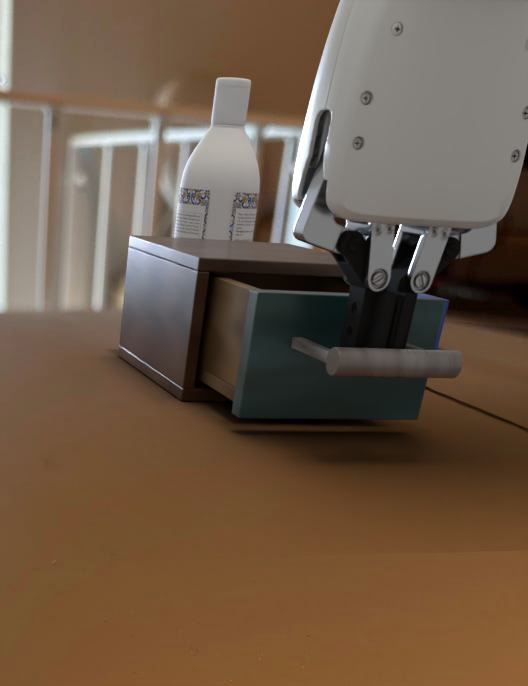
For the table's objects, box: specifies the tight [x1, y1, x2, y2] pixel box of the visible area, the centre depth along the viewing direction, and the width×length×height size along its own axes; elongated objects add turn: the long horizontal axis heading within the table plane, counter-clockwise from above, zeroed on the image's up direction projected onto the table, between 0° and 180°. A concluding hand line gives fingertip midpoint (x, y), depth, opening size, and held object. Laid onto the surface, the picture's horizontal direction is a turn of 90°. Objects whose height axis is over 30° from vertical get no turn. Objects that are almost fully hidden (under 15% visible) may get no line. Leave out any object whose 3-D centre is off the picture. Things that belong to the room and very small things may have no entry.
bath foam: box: [173, 76, 261, 242], centre depth 85 cm, size 7×7×20 cm
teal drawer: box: [196, 272, 464, 421], centre depth 57 cm, size 19×11×7 cm, turn 12°
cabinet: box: [117, 234, 343, 403], centre depth 67 cm, size 15×13×9 cm
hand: (367, 366), depth 51 cm, fingers closed
